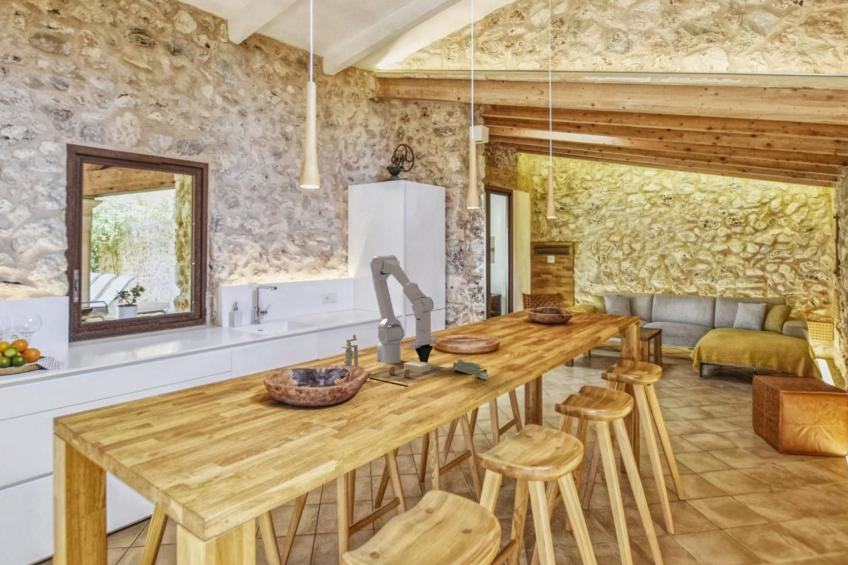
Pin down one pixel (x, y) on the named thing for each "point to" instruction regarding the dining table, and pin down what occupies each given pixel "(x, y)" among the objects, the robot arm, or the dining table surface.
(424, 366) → the cream rectangular block
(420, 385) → the dining table surface
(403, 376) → the bench board
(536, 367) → the dining table surface
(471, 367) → the metal bracket
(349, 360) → the clamp
